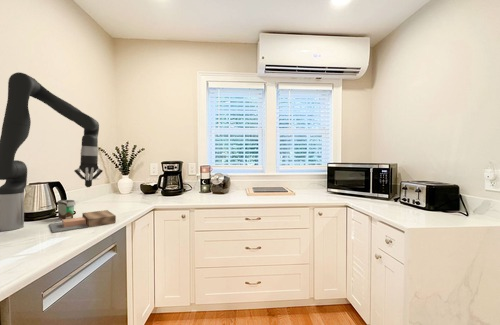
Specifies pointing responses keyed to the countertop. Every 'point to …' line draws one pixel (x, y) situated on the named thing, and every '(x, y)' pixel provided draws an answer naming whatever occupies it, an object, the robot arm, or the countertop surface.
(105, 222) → the board
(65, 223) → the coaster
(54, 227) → the mat
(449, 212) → the countertop surface
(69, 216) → the food container
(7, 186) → the robot arm
